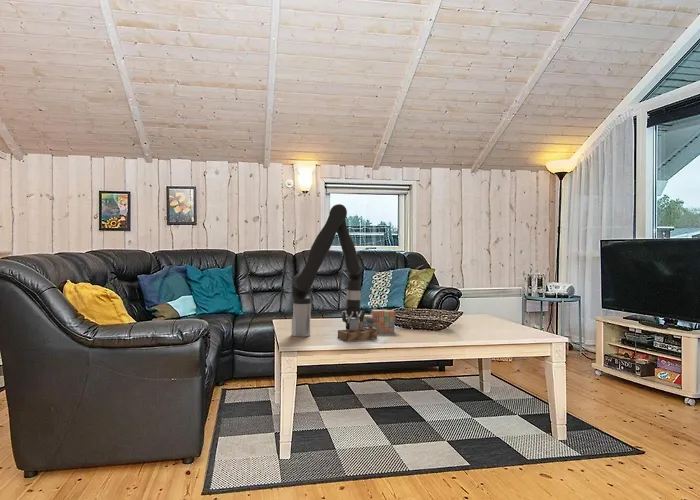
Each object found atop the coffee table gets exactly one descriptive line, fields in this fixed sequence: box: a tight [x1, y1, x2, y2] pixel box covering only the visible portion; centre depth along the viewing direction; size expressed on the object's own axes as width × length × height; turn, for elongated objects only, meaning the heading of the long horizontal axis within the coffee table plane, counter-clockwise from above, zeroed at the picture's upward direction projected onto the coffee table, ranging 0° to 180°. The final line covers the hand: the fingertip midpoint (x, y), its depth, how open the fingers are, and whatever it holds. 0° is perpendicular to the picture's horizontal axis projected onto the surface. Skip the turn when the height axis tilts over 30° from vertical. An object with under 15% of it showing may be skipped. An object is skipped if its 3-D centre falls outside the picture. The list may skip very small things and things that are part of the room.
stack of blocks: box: [359, 309, 396, 334], centre depth 284 cm, size 21×6×12 cm, turn 96°
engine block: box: [345, 317, 359, 330], centre depth 272 cm, size 5×5×7 cm
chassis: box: [337, 322, 378, 342], centre depth 262 cm, size 19×10×8 cm, turn 118°
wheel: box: [367, 317, 375, 323], centre depth 265 cm, size 5×5×2 cm
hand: (352, 329), depth 272 cm, fingers closed on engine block, 5 cm apart
